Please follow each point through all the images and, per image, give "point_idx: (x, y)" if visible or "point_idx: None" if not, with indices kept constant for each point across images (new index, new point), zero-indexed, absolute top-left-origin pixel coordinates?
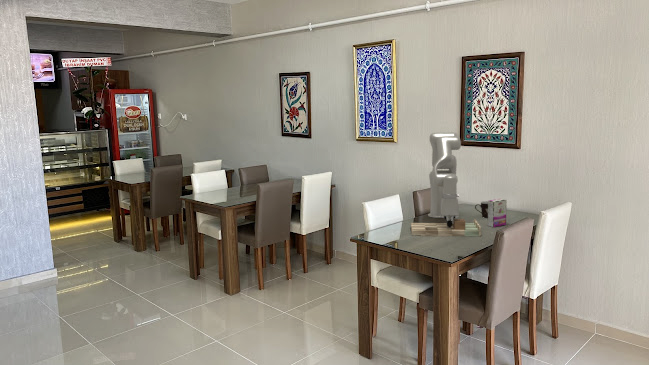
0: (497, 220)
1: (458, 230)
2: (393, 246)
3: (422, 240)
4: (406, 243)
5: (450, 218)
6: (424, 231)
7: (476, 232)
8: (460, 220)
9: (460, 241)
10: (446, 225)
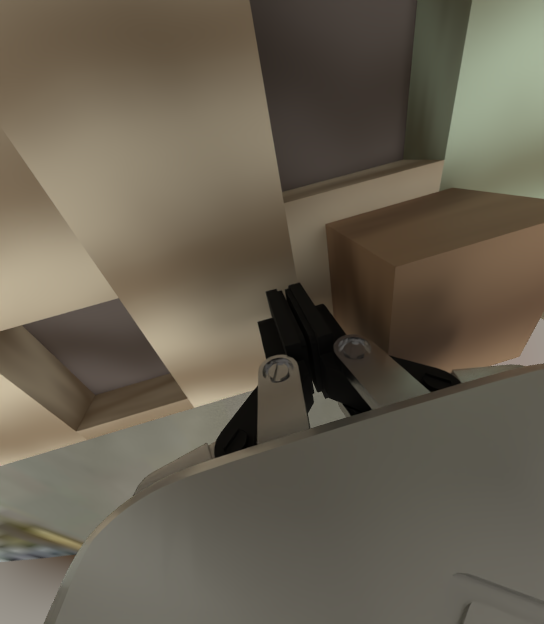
0: None
1: None
2: (68, 550)
3: (143, 468)
4: (93, 517)
5: (341, 362)
6: (78, 437)
7: None
8: (478, 336)
9: None
10: (215, 136)
